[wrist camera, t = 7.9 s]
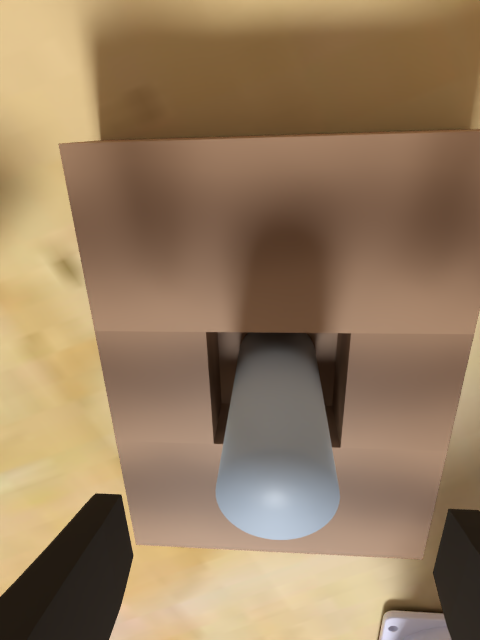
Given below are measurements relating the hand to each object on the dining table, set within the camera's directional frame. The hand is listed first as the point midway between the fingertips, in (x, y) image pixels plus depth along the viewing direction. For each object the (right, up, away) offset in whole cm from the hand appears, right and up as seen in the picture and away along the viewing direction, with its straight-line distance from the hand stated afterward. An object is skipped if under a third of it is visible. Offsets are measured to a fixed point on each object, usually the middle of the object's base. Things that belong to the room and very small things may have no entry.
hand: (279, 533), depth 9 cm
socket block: (+1, +4, +8) cm, 8 cm away
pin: (+1, +3, +7) cm, 8 cm away
